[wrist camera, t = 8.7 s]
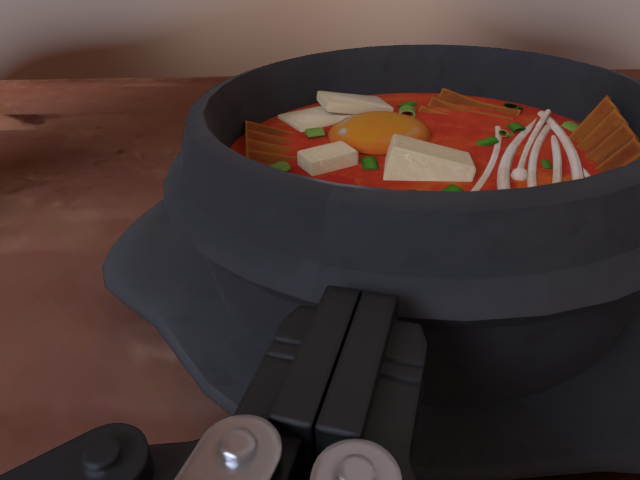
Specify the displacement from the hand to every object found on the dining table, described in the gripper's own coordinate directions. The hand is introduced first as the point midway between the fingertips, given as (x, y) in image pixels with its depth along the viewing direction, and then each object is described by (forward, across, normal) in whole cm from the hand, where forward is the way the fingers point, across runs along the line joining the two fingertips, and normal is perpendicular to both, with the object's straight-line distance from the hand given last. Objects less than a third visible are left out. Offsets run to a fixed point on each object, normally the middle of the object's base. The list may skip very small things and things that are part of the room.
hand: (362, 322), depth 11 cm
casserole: (+8, 0, +6) cm, 11 cm away
